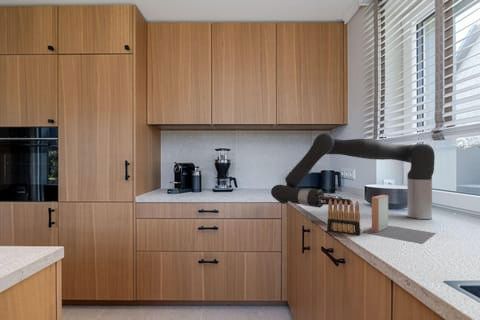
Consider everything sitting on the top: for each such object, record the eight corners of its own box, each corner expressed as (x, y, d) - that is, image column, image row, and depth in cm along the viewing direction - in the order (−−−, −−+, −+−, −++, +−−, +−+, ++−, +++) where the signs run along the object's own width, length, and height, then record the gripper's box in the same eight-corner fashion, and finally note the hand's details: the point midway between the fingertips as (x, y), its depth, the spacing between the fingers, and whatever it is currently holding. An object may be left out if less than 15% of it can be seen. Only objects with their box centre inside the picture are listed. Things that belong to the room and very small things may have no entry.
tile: (382, 226, 102) (382, 194, 102) (388, 227, 101) (388, 195, 101) (371, 231, 95) (371, 197, 95) (378, 232, 94) (378, 197, 94)
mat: (380, 225, 106) (380, 224, 106) (436, 234, 93) (436, 233, 93) (361, 234, 94) (361, 232, 94) (422, 245, 81) (422, 243, 81)
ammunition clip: (326, 233, 95) (326, 199, 95) (328, 232, 97) (328, 198, 97) (359, 237, 90) (359, 201, 90) (360, 236, 92) (360, 200, 92)
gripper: (302, 190, 114) (342, 194, 102) (319, 188, 123) (357, 191, 111) (302, 208, 114) (342, 214, 101) (319, 204, 123) (357, 209, 111)
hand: (349, 202), depth 106 cm, fingers closed
